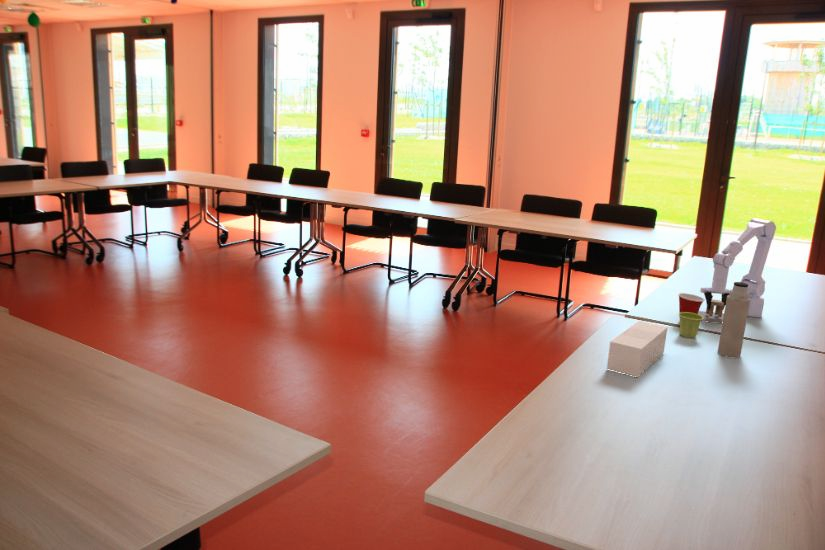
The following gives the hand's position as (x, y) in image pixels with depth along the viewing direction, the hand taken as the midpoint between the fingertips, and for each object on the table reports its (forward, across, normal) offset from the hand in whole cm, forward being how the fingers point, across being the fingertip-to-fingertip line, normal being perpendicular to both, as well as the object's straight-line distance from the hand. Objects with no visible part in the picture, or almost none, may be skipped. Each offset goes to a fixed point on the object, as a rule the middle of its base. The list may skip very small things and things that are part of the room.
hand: (714, 309), depth 309 cm
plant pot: (+4, +20, +30) cm, 36 cm away
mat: (+4, 0, 0) cm, 4 cm away
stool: (+3, 0, 0) cm, 3 cm away
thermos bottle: (+4, +10, +49) cm, 50 cm away
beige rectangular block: (+5, +49, +66) cm, 82 cm away
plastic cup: (+4, +14, +10) cm, 18 cm away
